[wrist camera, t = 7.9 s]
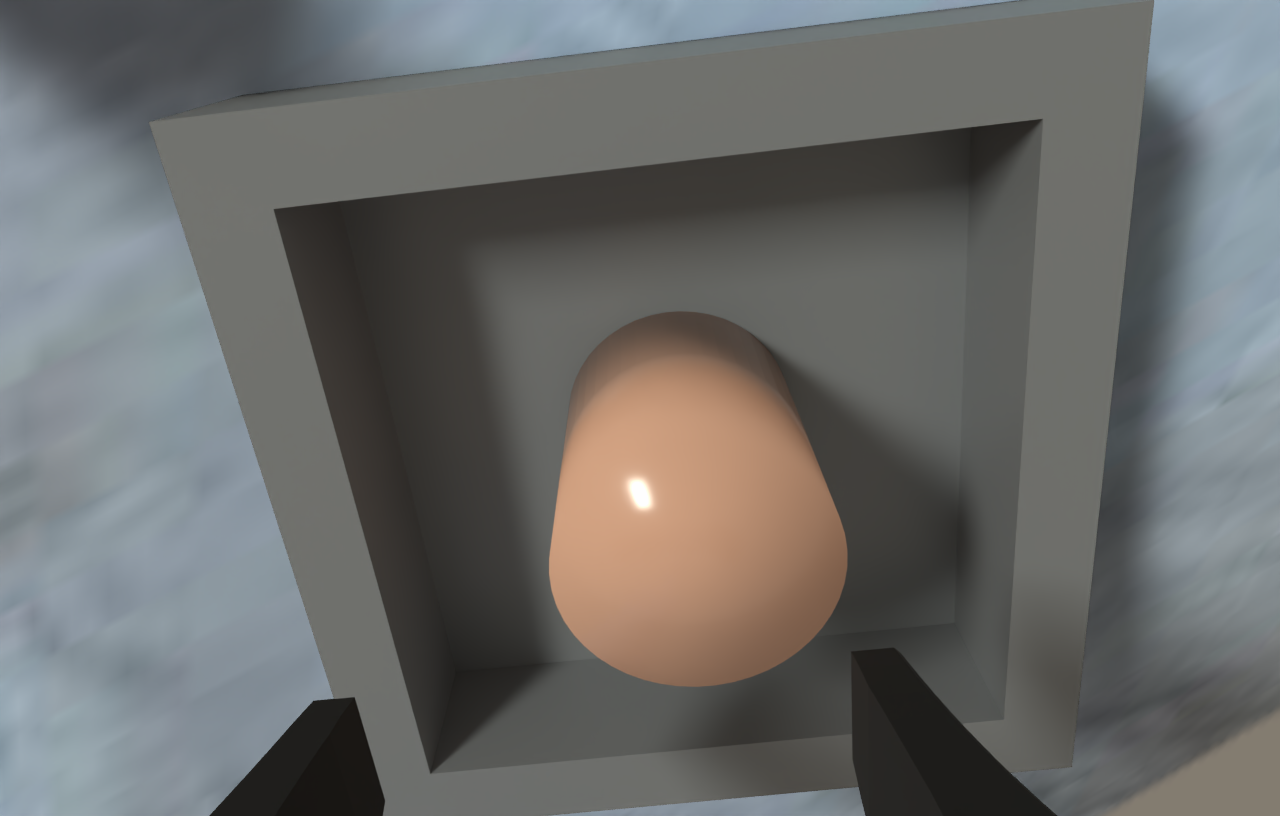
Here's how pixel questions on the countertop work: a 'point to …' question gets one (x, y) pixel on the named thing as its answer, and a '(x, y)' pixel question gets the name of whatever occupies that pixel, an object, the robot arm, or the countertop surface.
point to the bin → (691, 282)
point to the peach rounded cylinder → (691, 507)
